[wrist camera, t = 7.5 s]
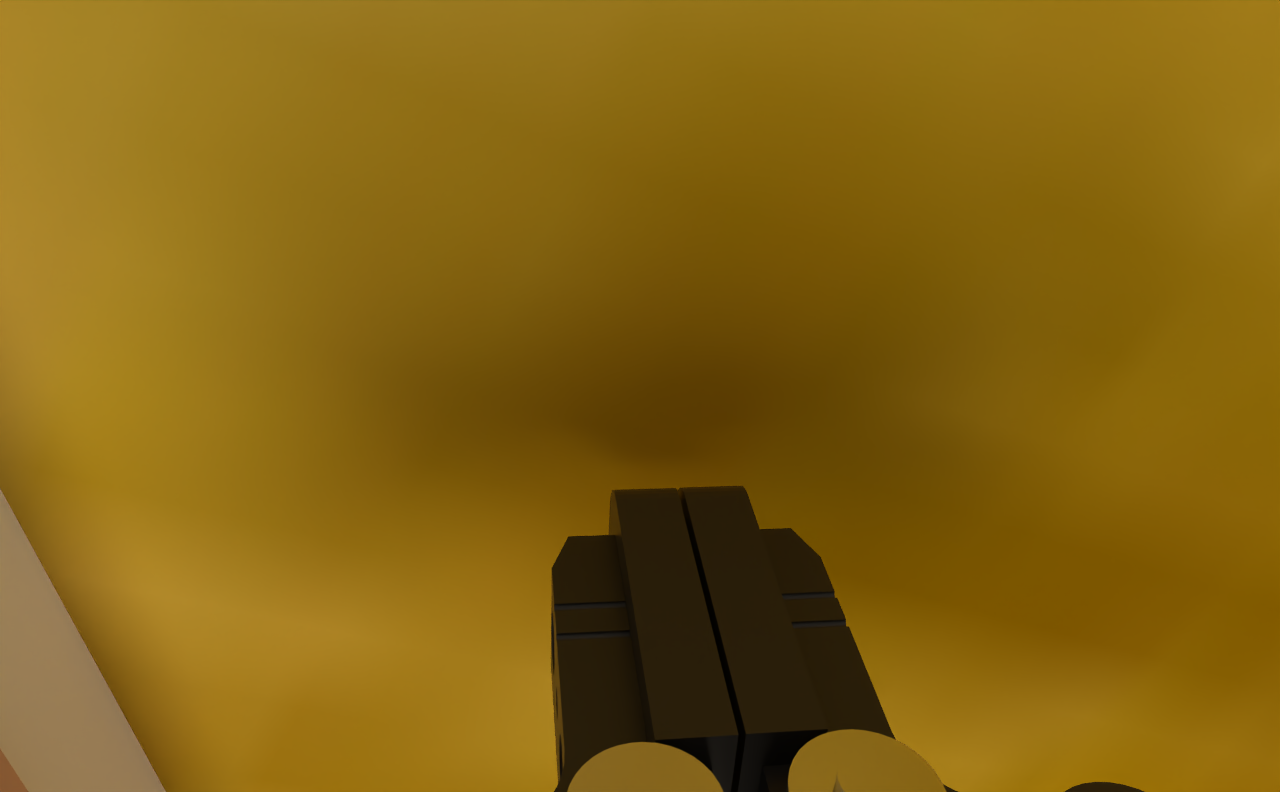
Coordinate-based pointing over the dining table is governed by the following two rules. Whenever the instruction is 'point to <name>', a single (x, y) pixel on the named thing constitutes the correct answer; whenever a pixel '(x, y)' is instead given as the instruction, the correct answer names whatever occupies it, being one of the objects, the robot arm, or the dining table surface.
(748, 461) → the dining table surface
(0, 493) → the carton
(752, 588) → the robot arm
